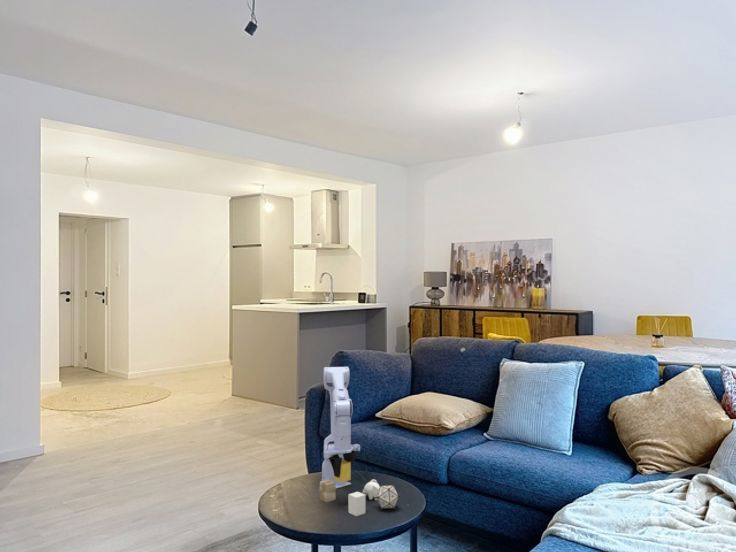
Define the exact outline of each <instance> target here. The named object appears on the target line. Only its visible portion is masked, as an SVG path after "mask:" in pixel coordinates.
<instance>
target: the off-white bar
mask: <svg viewBox="0 0 736 552" xmlns="http://www.w3.org/2000/svg"><path fill="white" fill-rule="evenodd" d="M365 494H366V493H365ZM365 494H363V493H362V492H360V491H355V492H352V493H348V495H347V497H348V499H347V500H348V501H347V502H348V511H347V512H348V514H351V515H353V516H355V517H358V516H361V515H365V514H366V496H365Z"/></svg>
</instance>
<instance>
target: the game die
mask: <svg viewBox="0 0 736 552" xmlns="http://www.w3.org/2000/svg"><path fill="white" fill-rule="evenodd" d="M378 484H379V486H380V488H379V490H378V493H377V496H376V497H374V498H375V499H377V500H376V501H377V503H378V505H379V507H380V509H379V510H380V511H383V510H382V509H394V510H395V511H396V510H397V509H396V506H397V502H398V500H399V498H400V497H402V495H401V494H398V492H397V490H396V488H395V486H394V485H395V483H394V482H393V483H392V485H390V484H389V485H381V483H378ZM374 498H373V499H374ZM375 499H374V500H375Z"/></svg>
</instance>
